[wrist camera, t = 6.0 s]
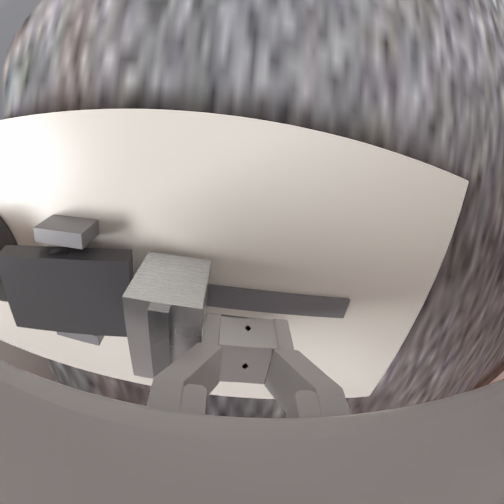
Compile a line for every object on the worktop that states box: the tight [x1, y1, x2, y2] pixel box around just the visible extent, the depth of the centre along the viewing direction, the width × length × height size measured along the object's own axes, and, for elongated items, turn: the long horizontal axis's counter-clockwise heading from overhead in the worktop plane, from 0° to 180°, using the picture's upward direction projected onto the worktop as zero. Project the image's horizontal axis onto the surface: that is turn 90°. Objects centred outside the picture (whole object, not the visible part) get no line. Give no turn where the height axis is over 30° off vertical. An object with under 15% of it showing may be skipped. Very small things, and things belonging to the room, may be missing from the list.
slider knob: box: [122, 252, 211, 379], centre depth 10 cm, size 2×4×3 cm, turn 171°
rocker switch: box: [0, 245, 133, 337], centre depth 10 cm, size 6×4×1 cm, turn 79°
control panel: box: [0, 109, 469, 399], centre depth 13 cm, size 26×14×6 cm, turn 81°
